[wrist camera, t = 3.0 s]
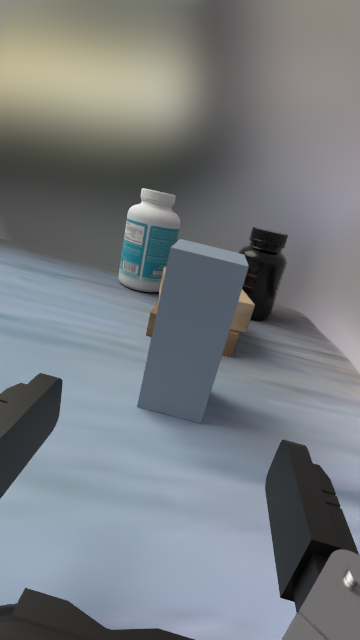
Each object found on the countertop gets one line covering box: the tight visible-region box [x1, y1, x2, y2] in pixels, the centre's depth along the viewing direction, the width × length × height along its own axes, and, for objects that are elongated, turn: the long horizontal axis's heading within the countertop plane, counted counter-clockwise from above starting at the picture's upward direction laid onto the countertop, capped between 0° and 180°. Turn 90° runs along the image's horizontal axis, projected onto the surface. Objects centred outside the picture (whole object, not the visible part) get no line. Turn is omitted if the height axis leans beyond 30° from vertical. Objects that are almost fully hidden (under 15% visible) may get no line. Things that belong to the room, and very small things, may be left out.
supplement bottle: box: [239, 227, 288, 320], centre depth 46 cm, size 7×7×12 cm
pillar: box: [137, 239, 249, 424], centre depth 22 cm, size 4×4×11 cm
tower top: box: [158, 267, 255, 332], centre depth 36 cm, size 9×9×3 cm
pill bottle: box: [119, 188, 180, 292], centre depth 46 cm, size 8×7×14 cm
